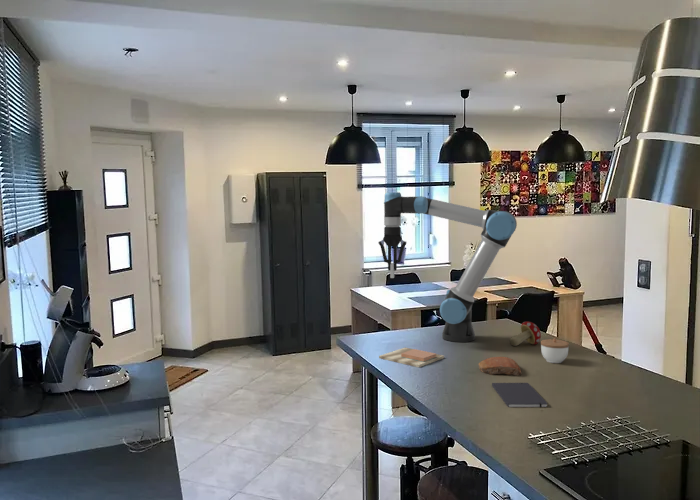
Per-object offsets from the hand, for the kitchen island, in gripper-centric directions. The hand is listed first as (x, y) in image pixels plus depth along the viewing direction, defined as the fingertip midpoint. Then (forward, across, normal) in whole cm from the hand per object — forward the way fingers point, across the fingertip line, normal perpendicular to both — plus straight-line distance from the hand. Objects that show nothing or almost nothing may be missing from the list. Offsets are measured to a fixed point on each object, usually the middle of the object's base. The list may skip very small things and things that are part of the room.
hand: (392, 277), depth 270 cm
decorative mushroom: (+30, -59, -5) cm, 66 cm away
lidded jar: (+30, -69, +21) cm, 78 cm away
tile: (+28, -15, +30) cm, 43 cm away
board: (+29, -12, +28) cm, 42 cm away
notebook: (+30, -52, +67) cm, 90 cm away
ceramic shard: (+30, -46, +38) cm, 67 cm away
